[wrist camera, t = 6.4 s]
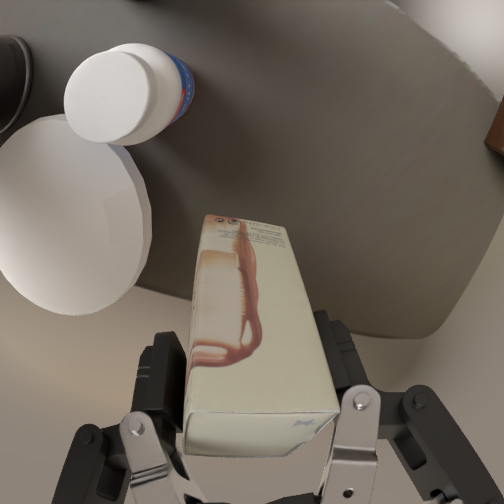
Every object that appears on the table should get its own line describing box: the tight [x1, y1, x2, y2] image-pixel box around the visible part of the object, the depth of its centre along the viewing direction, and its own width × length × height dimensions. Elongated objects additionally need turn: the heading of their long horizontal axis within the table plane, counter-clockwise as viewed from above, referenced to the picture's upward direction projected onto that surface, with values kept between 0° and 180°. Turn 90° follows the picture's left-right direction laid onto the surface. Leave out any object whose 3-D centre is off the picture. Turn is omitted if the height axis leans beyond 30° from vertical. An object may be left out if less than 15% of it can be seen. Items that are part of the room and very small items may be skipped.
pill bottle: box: [64, 43, 195, 146], centre depth 13 cm, size 6×5×10 cm
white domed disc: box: [0, 114, 152, 316], centre depth 18 cm, size 16×16×7 cm
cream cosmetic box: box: [183, 215, 340, 458], centre depth 12 cm, size 5×4×10 cm
